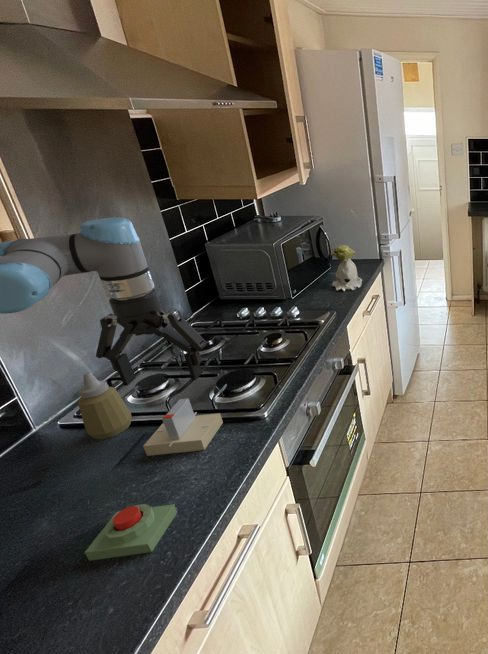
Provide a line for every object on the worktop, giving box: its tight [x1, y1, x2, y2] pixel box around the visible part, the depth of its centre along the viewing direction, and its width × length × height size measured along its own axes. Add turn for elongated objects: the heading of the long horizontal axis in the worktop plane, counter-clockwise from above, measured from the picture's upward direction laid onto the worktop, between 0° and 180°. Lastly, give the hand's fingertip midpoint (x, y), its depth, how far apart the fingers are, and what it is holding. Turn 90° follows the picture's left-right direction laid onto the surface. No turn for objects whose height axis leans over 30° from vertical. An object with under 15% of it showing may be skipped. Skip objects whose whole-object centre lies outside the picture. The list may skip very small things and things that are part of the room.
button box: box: [84, 503, 178, 562], centre depth 77 cm, size 10×8×4 cm
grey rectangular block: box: [162, 397, 196, 440], centre depth 97 cm, size 7×2×6 cm, turn 10°
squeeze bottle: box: [77, 371, 132, 440], centre depth 97 cm, size 8×8×18 cm
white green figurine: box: [330, 244, 363, 292], centre depth 180 cm, size 12×13×18 cm
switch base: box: [143, 411, 224, 457], centre depth 99 cm, size 12×11×3 cm
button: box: [113, 505, 142, 531], centre depth 76 cm, size 4×4×2 cm
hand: (164, 379), depth 93 cm, fingers open, 13 cm apart
